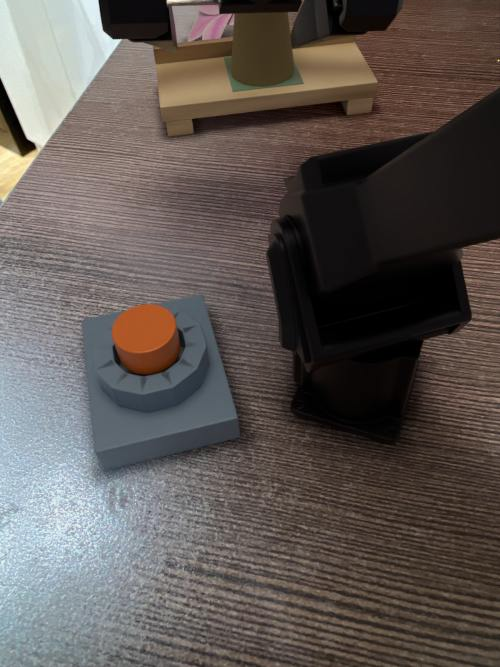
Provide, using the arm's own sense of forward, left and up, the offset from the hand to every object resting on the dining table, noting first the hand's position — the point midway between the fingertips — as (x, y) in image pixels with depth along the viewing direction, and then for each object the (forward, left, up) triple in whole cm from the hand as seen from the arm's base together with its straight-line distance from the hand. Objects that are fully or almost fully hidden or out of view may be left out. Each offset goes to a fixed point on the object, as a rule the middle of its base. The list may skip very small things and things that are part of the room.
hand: (234, 43), depth 45 cm
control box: (-4, +24, -10) cm, 27 cm away
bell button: (-4, +24, -6) cm, 26 cm away
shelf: (+2, -10, -10) cm, 14 cm away
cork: (+2, -10, -7) cm, 12 cm away
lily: (+10, -20, -10) cm, 25 cm away
